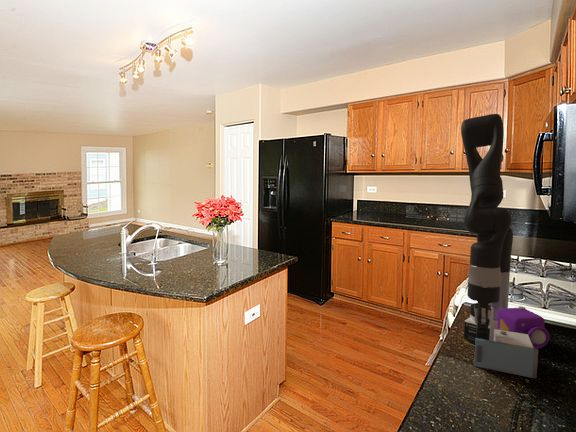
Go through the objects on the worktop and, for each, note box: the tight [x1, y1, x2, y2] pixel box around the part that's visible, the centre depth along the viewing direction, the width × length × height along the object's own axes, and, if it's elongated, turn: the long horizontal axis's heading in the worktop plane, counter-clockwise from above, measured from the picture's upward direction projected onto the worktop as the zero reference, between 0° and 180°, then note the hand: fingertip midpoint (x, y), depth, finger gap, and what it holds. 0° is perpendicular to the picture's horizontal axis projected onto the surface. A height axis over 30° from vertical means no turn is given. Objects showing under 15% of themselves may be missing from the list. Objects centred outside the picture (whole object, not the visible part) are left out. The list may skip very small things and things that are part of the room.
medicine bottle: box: [463, 303, 498, 347], centre depth 104 cm, size 7×7×12 cm
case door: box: [473, 338, 539, 379], centre depth 87 cm, size 2×14×7 cm, turn 63°
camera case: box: [493, 329, 534, 348], centre depth 92 cm, size 10×9×8 cm
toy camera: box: [496, 305, 550, 350], centre depth 103 cm, size 11×14×10 cm
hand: (480, 343), depth 93 cm, fingers closed
